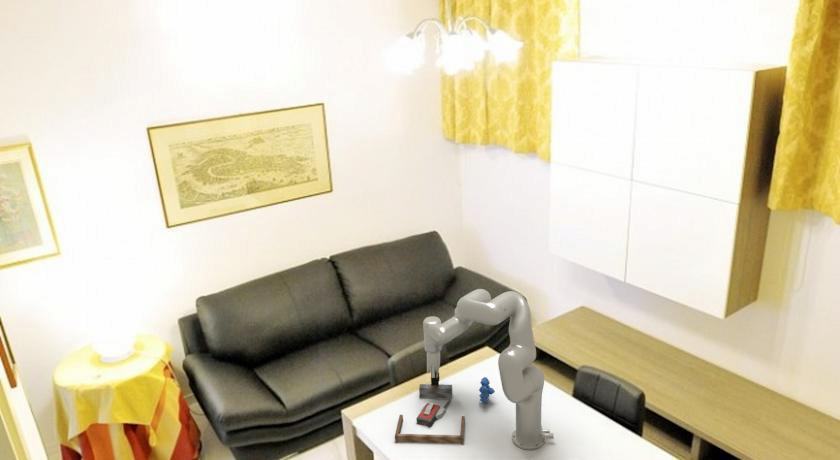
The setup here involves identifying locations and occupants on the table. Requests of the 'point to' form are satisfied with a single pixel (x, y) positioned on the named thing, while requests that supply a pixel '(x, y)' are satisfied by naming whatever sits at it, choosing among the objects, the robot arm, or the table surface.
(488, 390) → the grapes
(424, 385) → the scraper
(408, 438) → the dock
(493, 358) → the table surface
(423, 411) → the walkie-talkie
